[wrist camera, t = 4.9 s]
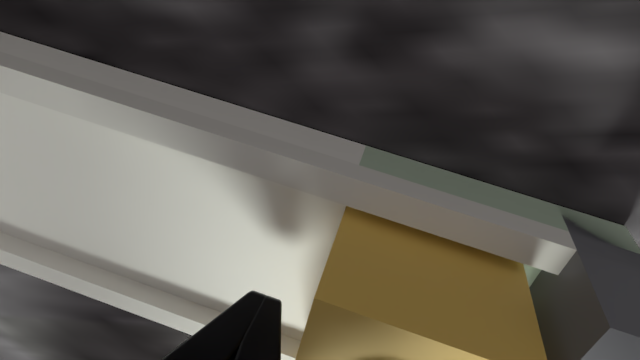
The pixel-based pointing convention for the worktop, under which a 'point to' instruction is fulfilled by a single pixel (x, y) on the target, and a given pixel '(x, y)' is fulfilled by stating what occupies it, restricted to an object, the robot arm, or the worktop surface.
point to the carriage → (417, 299)
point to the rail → (258, 207)
